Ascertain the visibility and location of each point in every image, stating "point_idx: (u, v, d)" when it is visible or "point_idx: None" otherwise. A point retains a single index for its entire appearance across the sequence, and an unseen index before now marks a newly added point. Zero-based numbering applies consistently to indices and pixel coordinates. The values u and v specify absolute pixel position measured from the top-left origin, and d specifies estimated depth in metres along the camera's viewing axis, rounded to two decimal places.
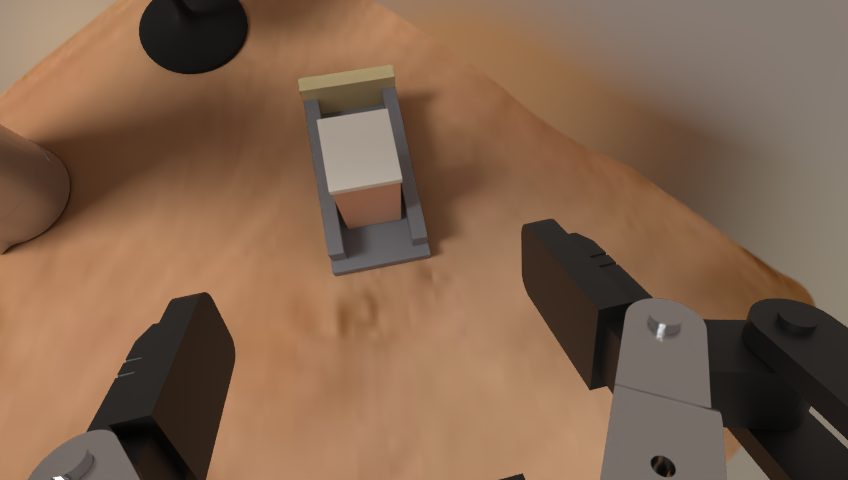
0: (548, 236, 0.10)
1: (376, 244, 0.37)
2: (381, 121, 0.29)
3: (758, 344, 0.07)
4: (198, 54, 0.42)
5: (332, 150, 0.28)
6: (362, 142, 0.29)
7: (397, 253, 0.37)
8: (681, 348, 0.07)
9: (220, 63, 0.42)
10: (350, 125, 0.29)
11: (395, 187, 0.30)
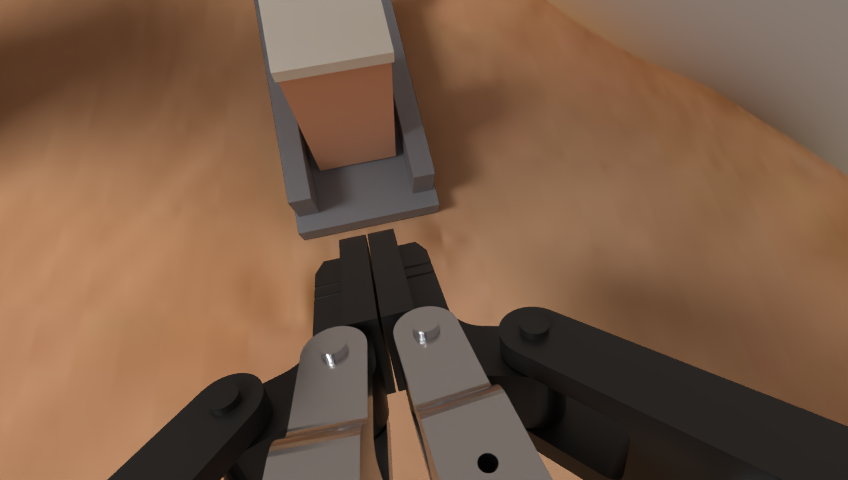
0: (379, 246, 0.11)
1: (361, 191, 0.26)
2: None
3: (519, 363, 0.07)
4: None
5: (277, 9, 0.17)
6: None
7: (391, 204, 0.26)
8: (424, 353, 0.07)
9: None
10: None
11: (384, 77, 0.19)
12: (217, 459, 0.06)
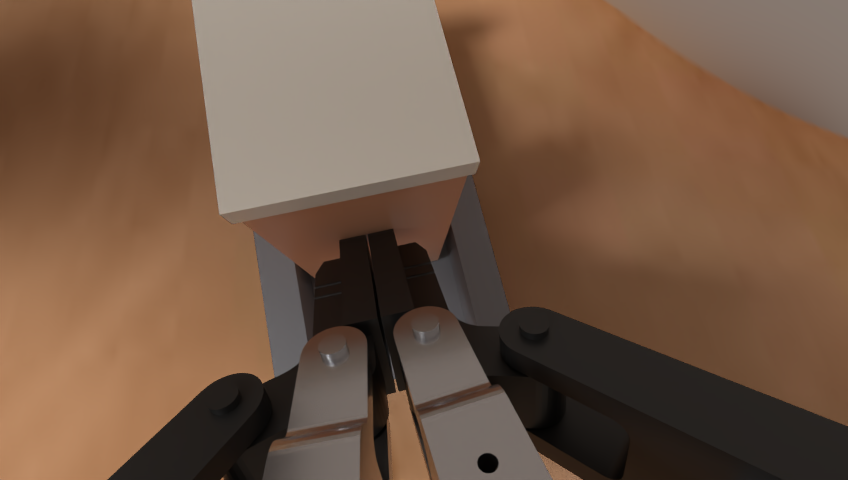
0: (379, 246, 0.11)
1: None
2: None
3: (519, 363, 0.07)
4: None
5: (237, 71, 0.08)
6: (340, 43, 0.09)
7: None
8: (424, 353, 0.07)
9: None
10: None
11: (448, 192, 0.10)
12: (217, 459, 0.06)
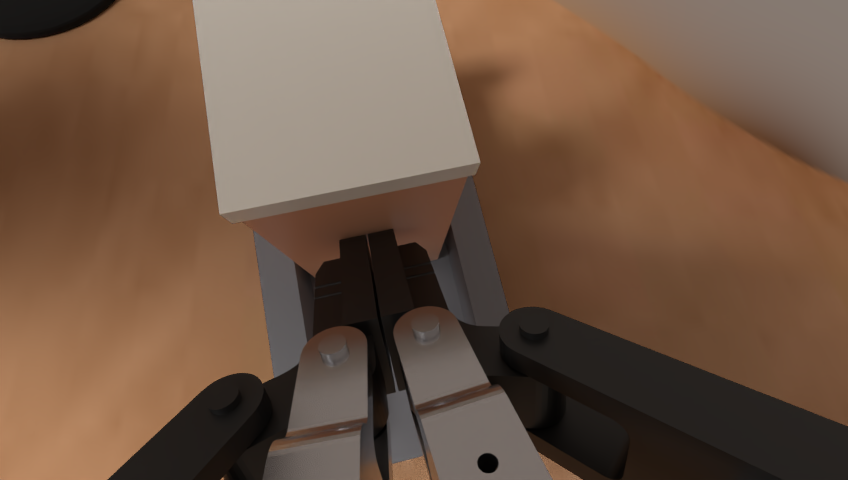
0: (379, 246, 0.11)
1: (404, 408, 0.16)
2: None
3: (519, 363, 0.07)
4: None
5: (238, 70, 0.08)
6: (341, 43, 0.09)
7: None
8: (424, 353, 0.07)
9: (81, 17, 0.21)
10: None
11: (448, 193, 0.10)
12: (216, 459, 0.06)
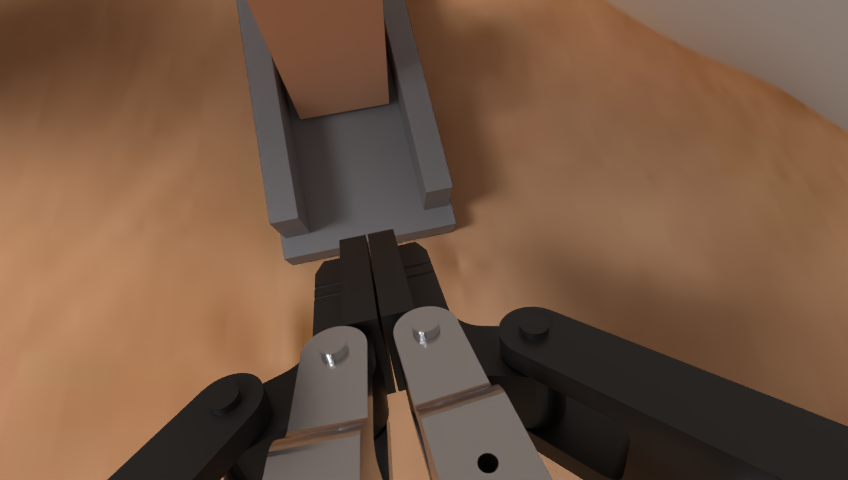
0: (379, 246, 0.11)
1: (361, 207, 0.21)
2: None
3: (519, 363, 0.07)
4: None
5: None
6: None
7: (398, 222, 0.21)
8: (424, 353, 0.07)
9: None
10: None
11: None
12: (217, 459, 0.06)
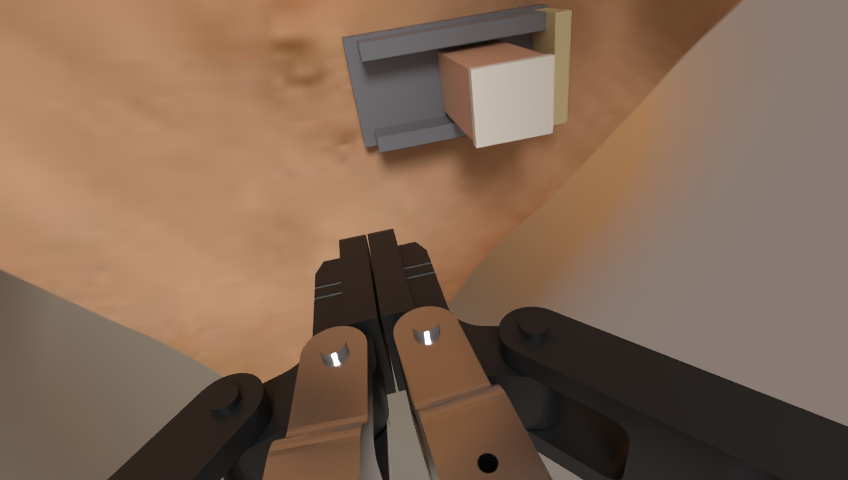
0: (379, 246, 0.11)
1: (376, 90, 0.34)
2: (540, 127, 0.28)
3: (519, 363, 0.07)
4: None
5: (516, 73, 0.26)
6: (521, 107, 0.27)
7: (366, 113, 0.35)
8: (424, 353, 0.07)
9: None
10: (541, 93, 0.27)
11: (470, 134, 0.29)
12: (216, 459, 0.06)
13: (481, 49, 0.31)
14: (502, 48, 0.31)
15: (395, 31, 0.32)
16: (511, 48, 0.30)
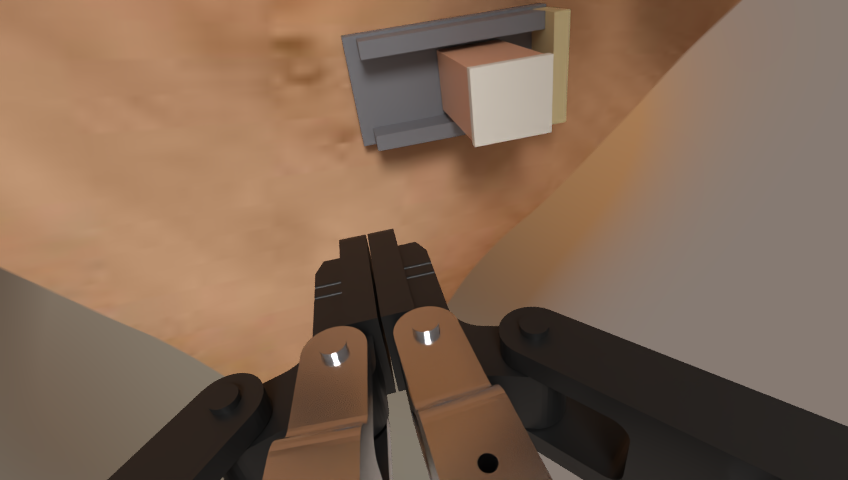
0: (379, 246, 0.11)
1: (375, 89, 0.34)
2: (538, 126, 0.28)
3: (519, 364, 0.07)
4: None
5: (515, 72, 0.26)
6: (519, 106, 0.27)
7: (365, 112, 0.35)
8: (424, 353, 0.07)
9: None
10: (540, 92, 0.27)
11: (468, 132, 0.29)
12: (217, 458, 0.06)
13: (480, 48, 0.31)
14: (501, 47, 0.31)
15: (394, 30, 0.32)
16: (510, 47, 0.30)
